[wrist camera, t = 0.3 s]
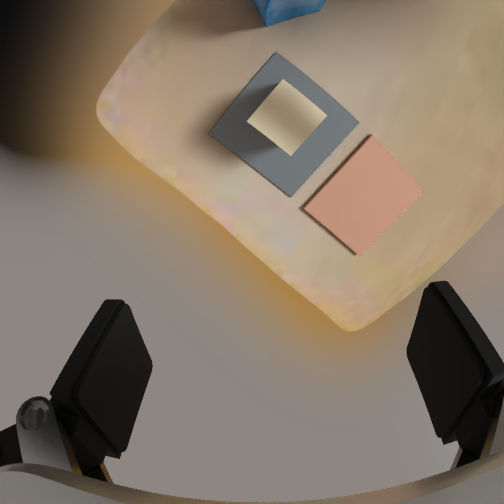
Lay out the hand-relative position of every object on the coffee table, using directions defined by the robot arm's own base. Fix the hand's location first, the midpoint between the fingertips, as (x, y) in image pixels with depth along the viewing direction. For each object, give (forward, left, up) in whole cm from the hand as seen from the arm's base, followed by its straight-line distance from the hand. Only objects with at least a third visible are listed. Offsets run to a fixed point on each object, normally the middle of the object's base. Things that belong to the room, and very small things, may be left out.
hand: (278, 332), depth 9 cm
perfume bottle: (-15, -11, -28) cm, 34 cm away
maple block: (-4, -2, -28) cm, 28 cm away
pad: (-3, +12, -28) cm, 30 cm away
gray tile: (-3, -1, -28) cm, 28 cm away
